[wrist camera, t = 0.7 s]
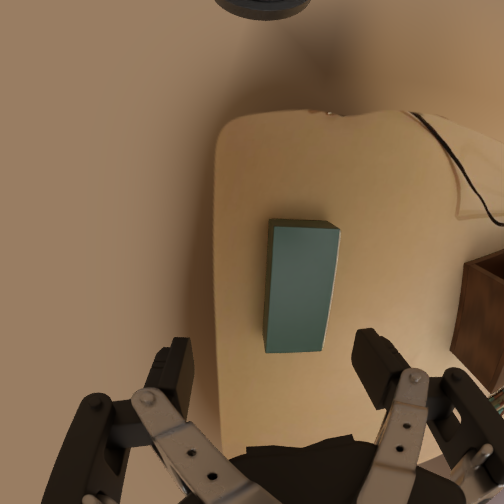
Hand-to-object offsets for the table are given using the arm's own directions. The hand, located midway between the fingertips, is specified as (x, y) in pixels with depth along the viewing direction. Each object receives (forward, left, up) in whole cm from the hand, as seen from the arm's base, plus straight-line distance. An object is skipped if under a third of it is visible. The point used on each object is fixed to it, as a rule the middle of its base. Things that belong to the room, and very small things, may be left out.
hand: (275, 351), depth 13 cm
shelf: (+13, +35, -14) cm, 40 cm away
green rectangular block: (+3, +3, -14) cm, 15 cm away
